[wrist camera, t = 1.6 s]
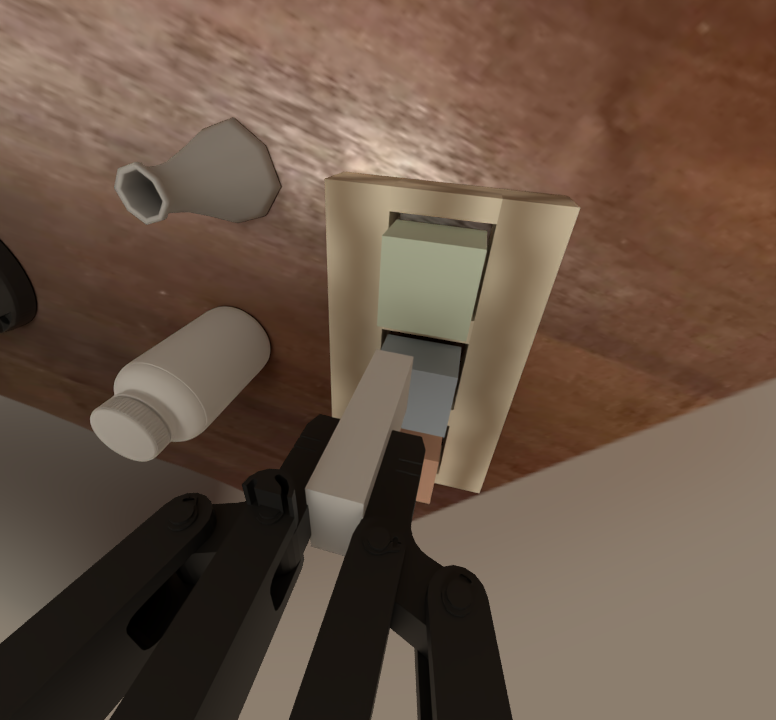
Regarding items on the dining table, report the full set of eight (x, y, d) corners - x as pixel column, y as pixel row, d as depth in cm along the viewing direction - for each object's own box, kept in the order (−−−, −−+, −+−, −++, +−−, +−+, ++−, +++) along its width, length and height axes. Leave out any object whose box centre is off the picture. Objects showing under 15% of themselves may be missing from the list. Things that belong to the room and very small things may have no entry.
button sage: (390, 300, 27) (376, 326, 24) (396, 219, 24) (381, 235, 21) (468, 313, 26) (466, 341, 23) (487, 230, 23) (487, 249, 20)
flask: (297, 190, 28) (222, 218, 20) (240, 236, 32) (156, 277, 23) (234, 96, 26) (117, 85, 17) (179, 157, 29) (60, 172, 21)
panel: (345, 433, 43) (333, 459, 39) (344, 171, 27) (324, 178, 23) (479, 463, 40) (479, 493, 37) (567, 196, 24) (580, 207, 21)
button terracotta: (378, 455, 38) (367, 488, 34) (381, 414, 34) (370, 446, 31) (434, 468, 37) (429, 503, 33) (443, 427, 33) (438, 462, 30)
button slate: (383, 390, 32) (371, 421, 29) (388, 333, 29) (374, 362, 26) (448, 403, 32) (444, 437, 28) (461, 347, 28) (457, 378, 25)
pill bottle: (242, 292, 35) (111, 384, 23) (286, 358, 38) (193, 469, 26) (189, 316, 38) (50, 408, 26) (235, 375, 41) (131, 480, 29)
